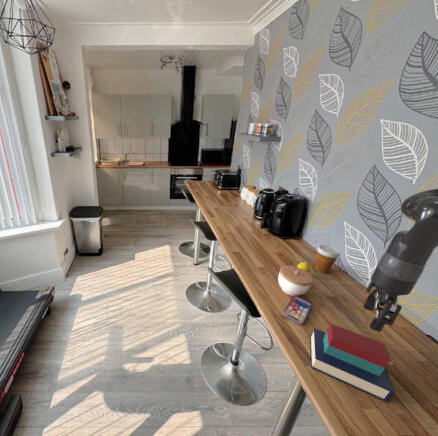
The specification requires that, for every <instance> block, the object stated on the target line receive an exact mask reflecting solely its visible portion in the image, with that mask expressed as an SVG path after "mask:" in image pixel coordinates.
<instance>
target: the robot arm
mask: <svg viewBox="0 0 438 436" xmlns="http://www.w3.org/2000/svg"><path fill="white" fill-rule="evenodd" d="M400 211H401V213H402V215H404V217H406V218H407V219H409V220H411V221H412V222H414V224H413V226H412V227H411V228H410V229H409V230H407V229H406V230H405V229H404V230H400V231H397V232H396V233H395V234H394V235H393V237H392V239H391V240H390V243H388V247H387V248H386V250H385V252H384V253H383V254H382V256H381V257H380V259H379V261H378V263H377V265H376V267H375V269H374V271H373V272H372V275H371V276H370V280H371V281H370V283H369V284H368V286H367V288H366V292H367V294H366V299H365V301H364V304H363V305H362V308H363V309H364V310H366V311H370V312H373V311H374V310H375V314H374V316H373V318H372V320H371V322H370V324H369V329H371V330H373V331H376V332H379V333H380V332H381V331H382V330H383V329H384V327H385V325H389V326H391V327H392V326H393V325H394V323H395V321H396V319H397V318H398V316H399V314H400V313H401V310H402V308H403V307H402V305H400V304H397V303H398V297H399V296H408V295H409V294H411V293H412V291H413V289H414V288H415V286H416V284H417V283H418V281H419V279H420V278H421V276H422V274H423V273H424V271H425V268H426V265H427V263H428V262H429V260H430V259H431V258H432V257H431V256H432V255H433V254H434V251H435V249H436V248H438V188H433V189H427V190H423V191H420V192H416V193H413V194H412V195H410V196H409V197H407V198H406V199H404V201H403V202H402V203H401V205H400Z"/></svg>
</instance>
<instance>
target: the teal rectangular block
mask: <svg viewBox="0 0 438 436" xmlns="http://www.w3.org/2000/svg"><path fill="white" fill-rule="evenodd" d="M325 333H326V334H325V336H324V339H323V342H324V352H325V354H328V355H330V356H333V357H335V358H337V359H340V360H342V361H344V362H347V363H349V364H352V365H354V366H356V367H359V368H361V369H363V370H366V371H368V372H371V373H373V374H375V375H378V376H380V375H381V373H382V372H383V370H384V369H385V368H383V367H381V366H378V365H376V364H373V363H371V362H368V361H366V360H363V359H361V358H359V357H356V356H354V355H351V354H349V353H346V352H344V351H341V350H339V349H336V348H334V347H331V346H329V343H328V335H327V331H326V332H325Z"/></svg>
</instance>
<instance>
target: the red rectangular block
mask: <svg viewBox="0 0 438 436" xmlns="http://www.w3.org/2000/svg"><path fill="white" fill-rule="evenodd" d="M326 332H327V335H328V343H329V346H331V347H334V348H336V349H339V350H341V351H344V352H346V353H349V354H351V355H354V356H356V357H359V358H361V359H363V360H366V361H368V362H371V363H373V364H376V365H378V366H381V367H383V368H386V367H387V366H388V365H389V363H390V362H391V357H390V354H389V352H388V349H387V345H386V343H384V342H381V341H379V340H376V339H374V338H370V337H368V336H365V335H362V334H361V333H358V332H354V331H352V330H349V329H346V328H344V327H341V326H338V325H335V324H333V323H330V325H329V326H328V329H327V330H326Z"/></svg>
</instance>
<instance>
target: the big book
mask: <svg viewBox="0 0 438 436" xmlns="http://www.w3.org/2000/svg"><path fill="white" fill-rule="evenodd" d="M325 334H326V332H325V331H322V330H320V329H317V328H315V327H314V328H313V332H312V335H311V336H309V350H310V368H311V369H313V370H316V371H317V372H319V373H321V374H324V375H325V376H326V375H327V376H329V377H330V378H333V379H335V380H337V381H339V382H341V383H344V384H346V385H348V386H350V387H352V388H354V389H357V390H359V391H361V392H363V393H365V394H368V395H370V396H372V397H374V398H377V399H379V400H380V401H383V402H385V403H389V402H390V400H391V399H392V398H393V397H394V395H395V394H396V392H395V391H396V390H395V388H394V385H393V383H392V379H391V376H390V374H389V370H388V368H387V366H386V368H385V369H384V370H383V372H382V373H381V375H380V376H378V375H375V374H373V373H371V372H368V371H366V370H363V369H361V368H359V367H356V366H354V365H352V364H349V363H347V362H344V361H342V360H340V359H337V358H335V357H333V356H330V355H328V354H325V352H324V342H323V339H324V336H325Z"/></svg>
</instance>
